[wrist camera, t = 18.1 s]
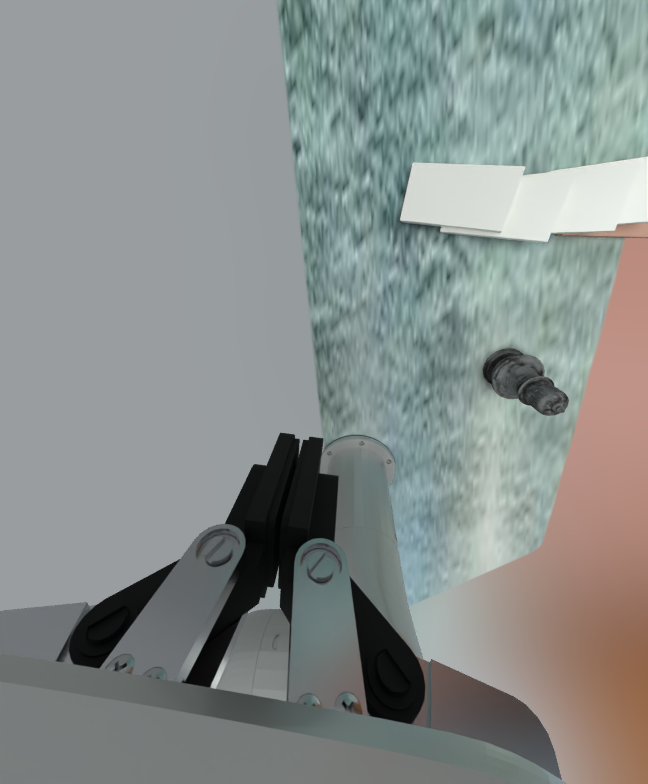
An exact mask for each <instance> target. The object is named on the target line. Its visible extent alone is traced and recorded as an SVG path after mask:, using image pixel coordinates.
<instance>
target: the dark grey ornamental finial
mask: <svg viewBox="0 0 648 784" xmlns="http://www.w3.org/2000/svg"><path fill="white" fill-rule="evenodd" d="M544 372H545V370H544V366H543V364H542V363H541V361H540V360H538V359H537V358H536V357H533V356H530V355H523V354H522V353H521V352H520V351H518V350H515V349H503V350H500V351H497V352H496V353H494V354H493V355H491V356H490V357H489V358H488V359H487V361H486V363H485V365H484V368H483V374H484V377H485V379H486V380H487V381H488V382H489V383H491V384H492V386H493V389H494V390H495V392H496V393H497V394H498V395H500V396H501V397H504V398H507V399H517V398H519V400H520V401H521V402H522V403H523V404H526V405H531V406H532V407H533V408H535V409H536V410H537V411H538V412H540V413H541V414H543V415H547V416H551V415H557V414H559V413H563V412H564V411H565V409H566V408H567V406H568V402H569V400H568V397H567V395H566V394H565V393H564V392H562V391H561V390H559V389H558V388H556V387H554V383H553V381H552V380H551V379H549V378H548V377H544Z"/></svg>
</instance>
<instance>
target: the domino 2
mask: <svg viewBox="0 0 648 784" xmlns="http://www.w3.org/2000/svg"><path fill="white" fill-rule="evenodd" d="M573 180H574V178H558V177H523V176H522V178H521V180H520V183H519V186H518V188H517V191H516V194H515V196H514V199H513V202H512V205H511V207H510V210H509V213H508V215H507V218H506V221H505V224H504V226H503V229H502V231H501V233H495V232H485V231H476V230H467V229H458V228H449V227H441V229H440V232H441V233H447V234H457V235H467V236H477V237H487V238H497V239H507V240H517V241H527V242H537V243H546V242H548V239H549V237H550V235H551V232H552V230H553V227H554V225H555V223H556V220H557V218H558V216H559V213H560V211H561V209H562V206H563V204H564V202H565V199H566V197H567V195H568V192H569V190H570V187H571V185H572V183H573Z"/></svg>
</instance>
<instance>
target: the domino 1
mask: <svg viewBox="0 0 648 784" xmlns="http://www.w3.org/2000/svg"><path fill="white" fill-rule="evenodd" d="M525 167H526V166H497V165H467V164H438V163H413V164H412V169H411V173H410V177H409V182H408V186H407V191H406V195H405V200H404V204H403V208H402V213H401V217H400V221H402V222H403V223H412V224H421V225H430V226H440V227H449V228H458V229H467V230H476V231H485V232H495V233H501V231H502V229H503V226H504V224H505V221H506V218H507V215H508V213H509V210H510V207H511V205H512V202H513V199H514V196H515V194H516V191H517V188H518V186H519V183H520V180H521V178H522V175H523V172H524V169H525Z"/></svg>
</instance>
